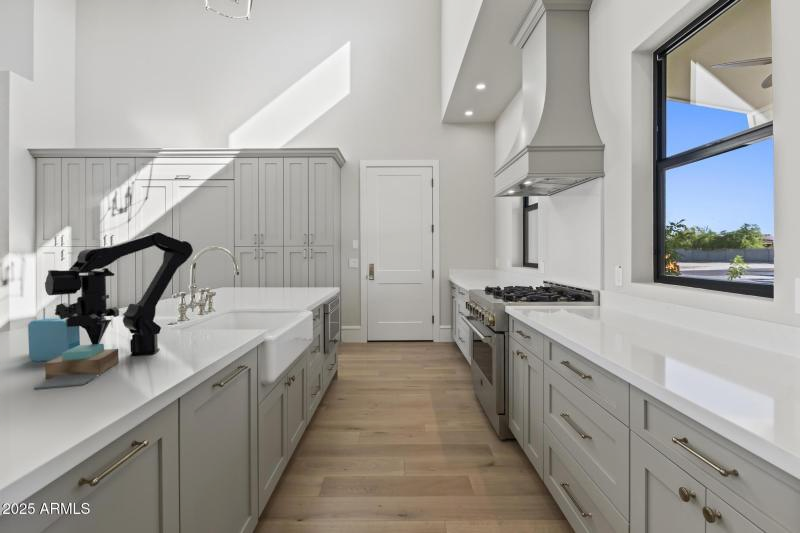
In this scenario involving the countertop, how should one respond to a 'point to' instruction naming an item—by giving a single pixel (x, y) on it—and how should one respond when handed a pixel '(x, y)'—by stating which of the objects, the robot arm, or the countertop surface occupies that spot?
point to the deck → (82, 364)
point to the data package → (51, 338)
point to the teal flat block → (83, 352)
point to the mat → (67, 381)
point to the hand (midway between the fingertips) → (95, 345)
